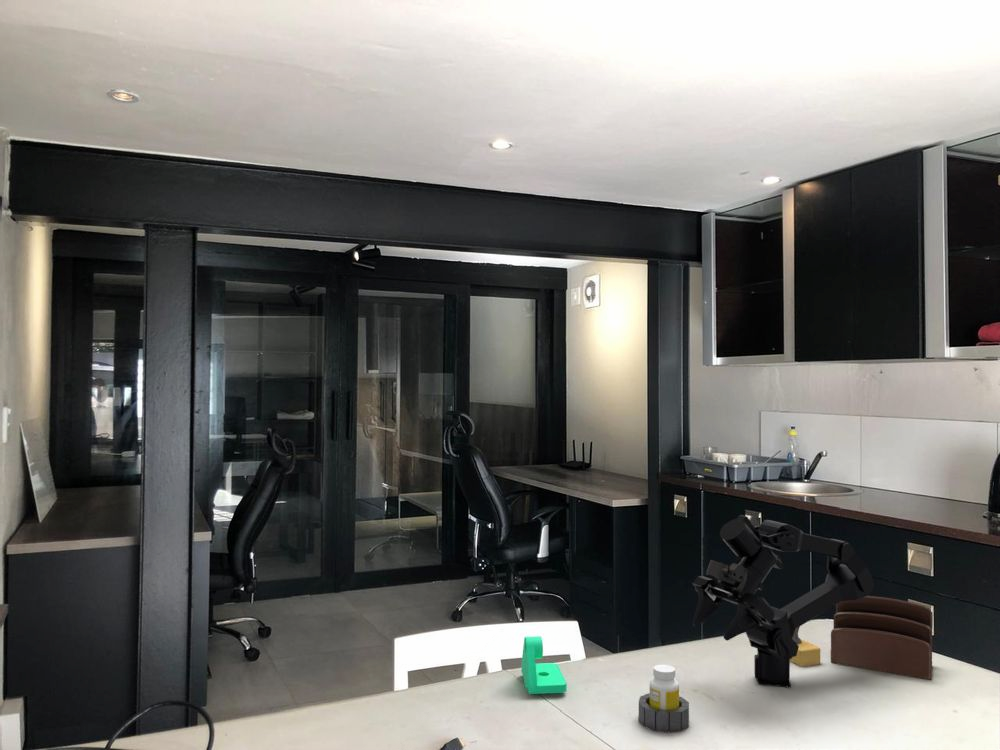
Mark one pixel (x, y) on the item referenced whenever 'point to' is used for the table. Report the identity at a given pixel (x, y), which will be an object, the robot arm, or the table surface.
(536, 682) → the camera mount
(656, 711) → the ring
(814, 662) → the rubber stamp
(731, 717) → the table surface
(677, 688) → the supplement bottle
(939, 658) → the table surface
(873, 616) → the letter holder
